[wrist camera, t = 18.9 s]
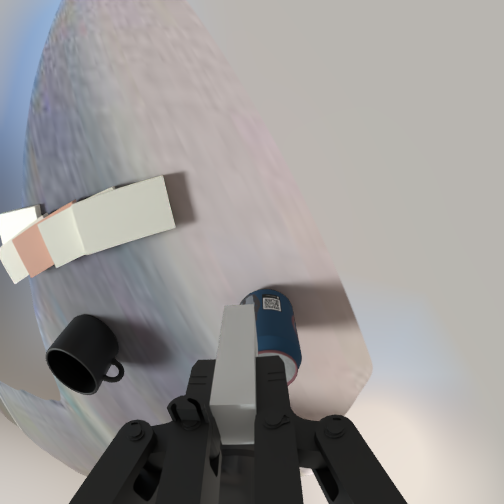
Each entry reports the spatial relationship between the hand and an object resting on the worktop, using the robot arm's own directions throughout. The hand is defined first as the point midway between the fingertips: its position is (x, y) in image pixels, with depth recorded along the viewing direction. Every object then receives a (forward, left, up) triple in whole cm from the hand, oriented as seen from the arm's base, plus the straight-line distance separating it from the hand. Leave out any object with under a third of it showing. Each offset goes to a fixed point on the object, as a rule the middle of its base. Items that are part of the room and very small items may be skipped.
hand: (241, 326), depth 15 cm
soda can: (-11, -1, -19) cm, 23 cm away
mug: (-17, +26, -19) cm, 37 cm away
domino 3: (+3, +21, -18) cm, 28 cm away
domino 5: (+4, +9, -18) cm, 21 cm away
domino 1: (+3, +30, -19) cm, 36 cm away
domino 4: (+4, +15, -18) cm, 24 cm away
